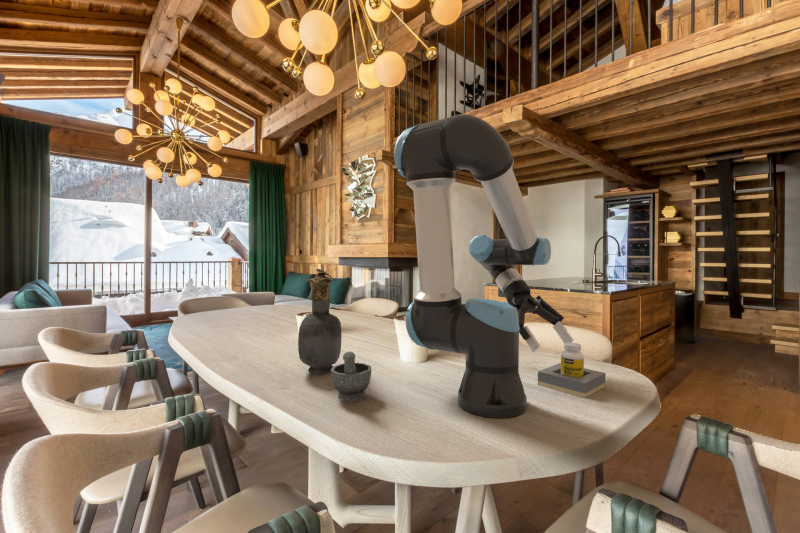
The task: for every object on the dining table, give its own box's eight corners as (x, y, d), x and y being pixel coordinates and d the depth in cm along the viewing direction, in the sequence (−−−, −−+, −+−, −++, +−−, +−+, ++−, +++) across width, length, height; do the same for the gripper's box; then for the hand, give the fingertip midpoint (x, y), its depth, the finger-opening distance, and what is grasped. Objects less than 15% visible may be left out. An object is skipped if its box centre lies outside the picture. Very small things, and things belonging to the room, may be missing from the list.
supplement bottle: (561, 383, 96) (561, 345, 96) (560, 377, 101) (560, 341, 101) (584, 386, 94) (585, 347, 94) (582, 379, 99) (582, 342, 99)
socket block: (584, 397, 89) (584, 383, 89) (537, 384, 98) (537, 371, 98) (605, 386, 97) (605, 372, 97) (560, 375, 106) (560, 362, 106)
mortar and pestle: (334, 389, 95) (334, 342, 94) (372, 389, 95) (371, 342, 95) (327, 407, 83) (327, 354, 83) (369, 407, 84) (369, 353, 83)
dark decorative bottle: (294, 379, 103) (294, 269, 102) (311, 360, 122) (311, 267, 121) (334, 379, 102) (334, 269, 102) (345, 360, 122) (344, 267, 121)
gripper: (534, 292, 124) (574, 347, 111) (476, 296, 111) (513, 359, 99) (548, 277, 119) (591, 333, 106) (488, 279, 107) (529, 343, 94)
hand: (553, 346), depth 103 cm, fingers open, 13 cm apart
